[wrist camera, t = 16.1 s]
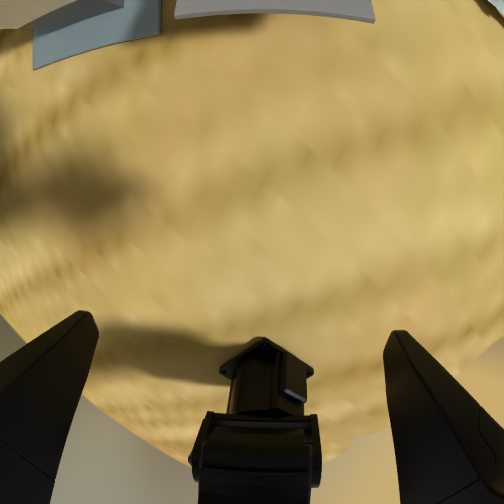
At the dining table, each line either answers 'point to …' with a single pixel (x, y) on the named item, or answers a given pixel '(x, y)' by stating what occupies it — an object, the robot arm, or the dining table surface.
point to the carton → (278, 8)
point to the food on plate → (498, 6)
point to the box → (51, 12)
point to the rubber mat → (98, 32)
